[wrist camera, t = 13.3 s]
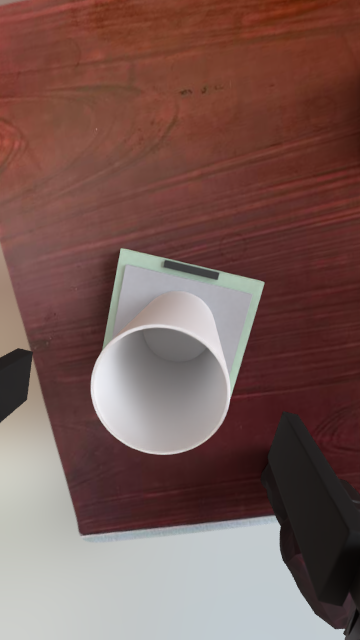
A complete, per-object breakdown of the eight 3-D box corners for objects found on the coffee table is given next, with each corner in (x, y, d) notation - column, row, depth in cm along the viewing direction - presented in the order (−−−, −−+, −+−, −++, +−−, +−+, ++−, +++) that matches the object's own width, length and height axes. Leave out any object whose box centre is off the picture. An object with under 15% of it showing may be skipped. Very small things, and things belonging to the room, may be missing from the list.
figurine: (324, 487, 39) (400, 625, 24) (275, 506, 40) (320, 649, 25) (294, 427, 38) (356, 537, 23) (244, 448, 39) (273, 566, 24)
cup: (137, 293, 32) (80, 327, 16) (213, 288, 31) (228, 319, 16) (144, 364, 34) (99, 457, 18) (216, 361, 33) (233, 453, 18)
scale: (105, 359, 37) (97, 368, 34) (125, 248, 34) (119, 247, 31) (228, 389, 37) (231, 400, 34) (260, 280, 34) (266, 282, 31)
